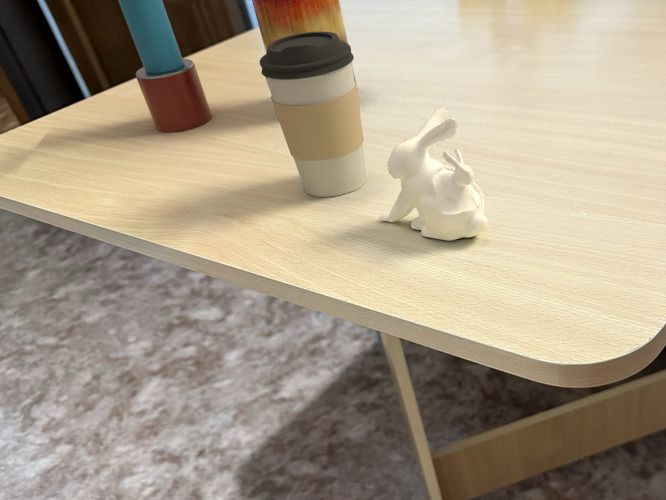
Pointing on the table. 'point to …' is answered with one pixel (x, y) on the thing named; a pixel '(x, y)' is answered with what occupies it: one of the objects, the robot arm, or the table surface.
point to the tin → (175, 98)
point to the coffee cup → (318, 110)
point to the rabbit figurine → (436, 185)
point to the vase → (298, 18)
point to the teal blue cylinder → (152, 35)
